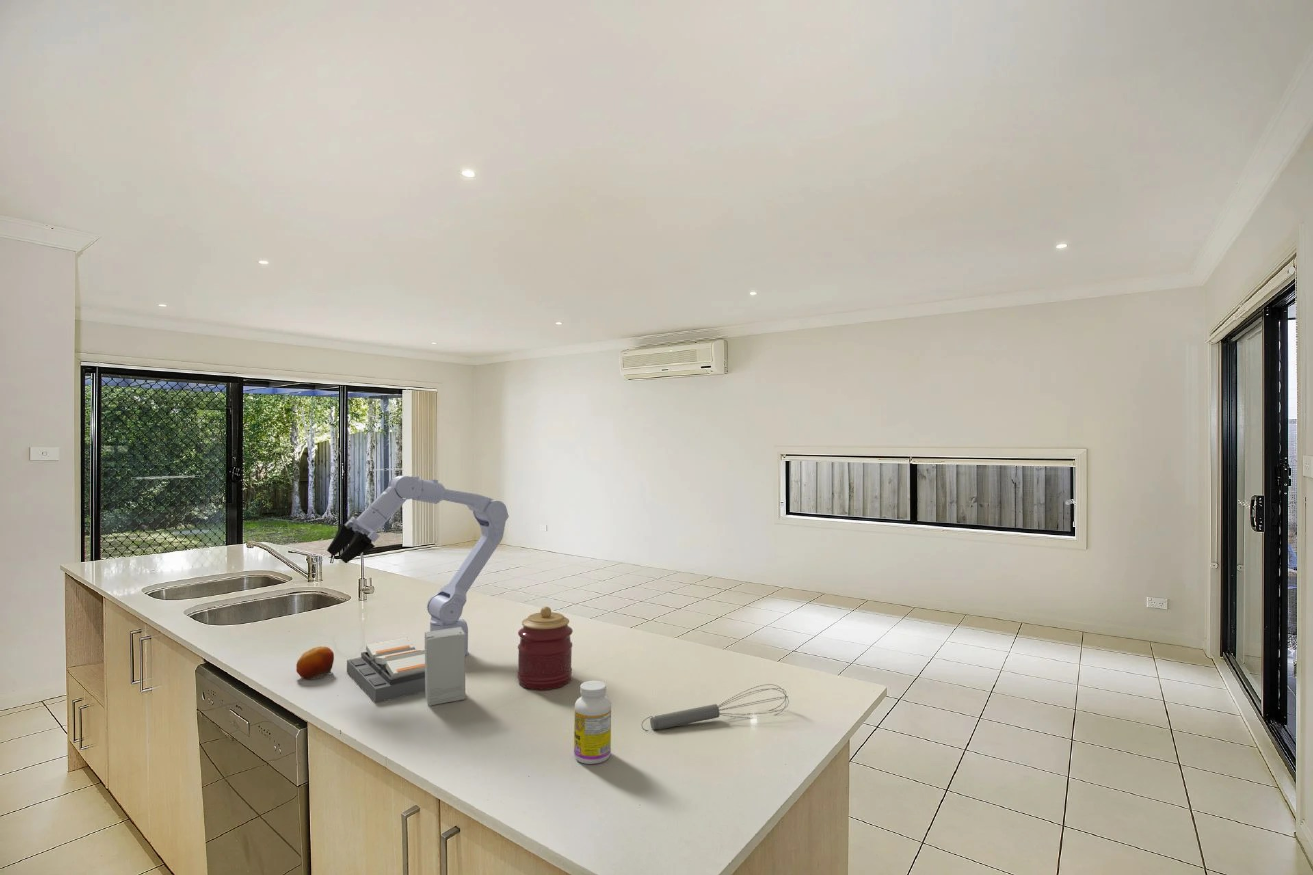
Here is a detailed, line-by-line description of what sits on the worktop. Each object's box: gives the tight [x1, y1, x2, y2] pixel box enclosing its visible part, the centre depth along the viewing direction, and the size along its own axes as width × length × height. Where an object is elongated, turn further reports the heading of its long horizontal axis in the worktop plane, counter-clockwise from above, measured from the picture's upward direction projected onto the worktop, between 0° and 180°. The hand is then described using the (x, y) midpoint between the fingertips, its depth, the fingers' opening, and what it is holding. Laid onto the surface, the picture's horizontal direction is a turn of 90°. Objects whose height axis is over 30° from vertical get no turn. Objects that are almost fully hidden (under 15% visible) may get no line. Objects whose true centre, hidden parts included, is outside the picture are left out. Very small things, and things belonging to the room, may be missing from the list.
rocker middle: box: [375, 648, 425, 665], centre depth 149 cm, size 10×6×2 cm, turn 130°
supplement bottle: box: [573, 680, 612, 765], centre depth 112 cm, size 7×7×13 cm
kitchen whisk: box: [641, 683, 790, 732], centre depth 127 cm, size 6×33×6 cm, turn 109°
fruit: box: [295, 645, 335, 680], centre depth 149 cm, size 8×8×8 cm
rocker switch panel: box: [346, 647, 425, 704], centre depth 149 cm, size 15×28×4 cm, turn 40°
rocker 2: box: [386, 654, 425, 679], centre depth 143 cm, size 10×6×2 cm, turn 130°
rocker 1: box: [365, 636, 415, 660], centre depth 155 cm, size 10×6×2 cm, turn 130°
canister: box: [516, 606, 573, 691], centre depth 148 cm, size 13×13×18 cm
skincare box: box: [424, 627, 466, 707], centre depth 137 cm, size 8×6×15 cm
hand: (336, 556), depth 149 cm, fingers open, 7 cm apart
